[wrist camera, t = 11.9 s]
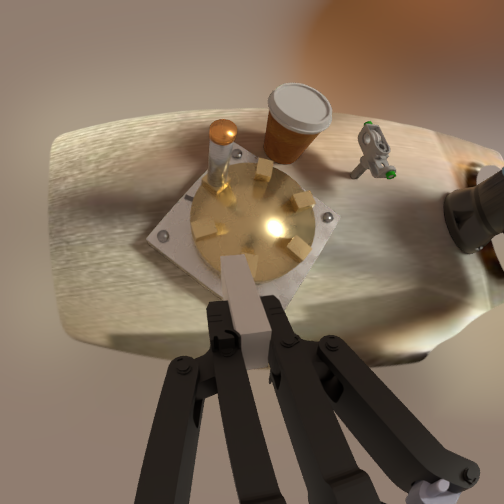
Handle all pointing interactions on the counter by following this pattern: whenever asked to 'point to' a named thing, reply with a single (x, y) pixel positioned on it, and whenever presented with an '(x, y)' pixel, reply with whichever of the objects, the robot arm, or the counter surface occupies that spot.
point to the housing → (188, 260)
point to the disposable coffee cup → (294, 121)
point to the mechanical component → (373, 153)
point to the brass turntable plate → (250, 212)
